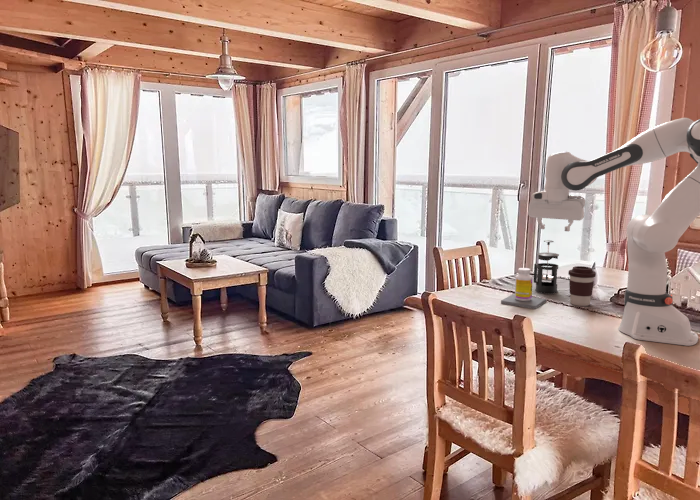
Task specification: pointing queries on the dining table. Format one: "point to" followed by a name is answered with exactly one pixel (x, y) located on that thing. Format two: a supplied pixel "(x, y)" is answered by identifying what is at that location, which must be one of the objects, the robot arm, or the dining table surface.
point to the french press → (547, 286)
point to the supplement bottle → (523, 285)
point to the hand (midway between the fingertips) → (554, 230)
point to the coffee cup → (581, 285)
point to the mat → (524, 302)
